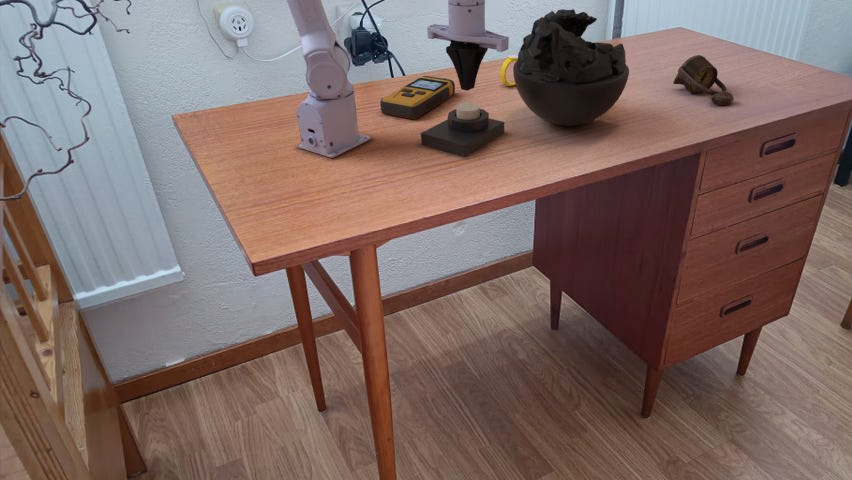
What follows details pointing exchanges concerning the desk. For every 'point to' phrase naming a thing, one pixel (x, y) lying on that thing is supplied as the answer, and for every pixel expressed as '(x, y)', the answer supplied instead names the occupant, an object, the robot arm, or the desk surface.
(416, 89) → the electronic device
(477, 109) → the power button
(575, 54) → the coal bowl
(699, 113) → the desk surface
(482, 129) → the switch box
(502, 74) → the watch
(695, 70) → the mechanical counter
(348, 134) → the robot arm
